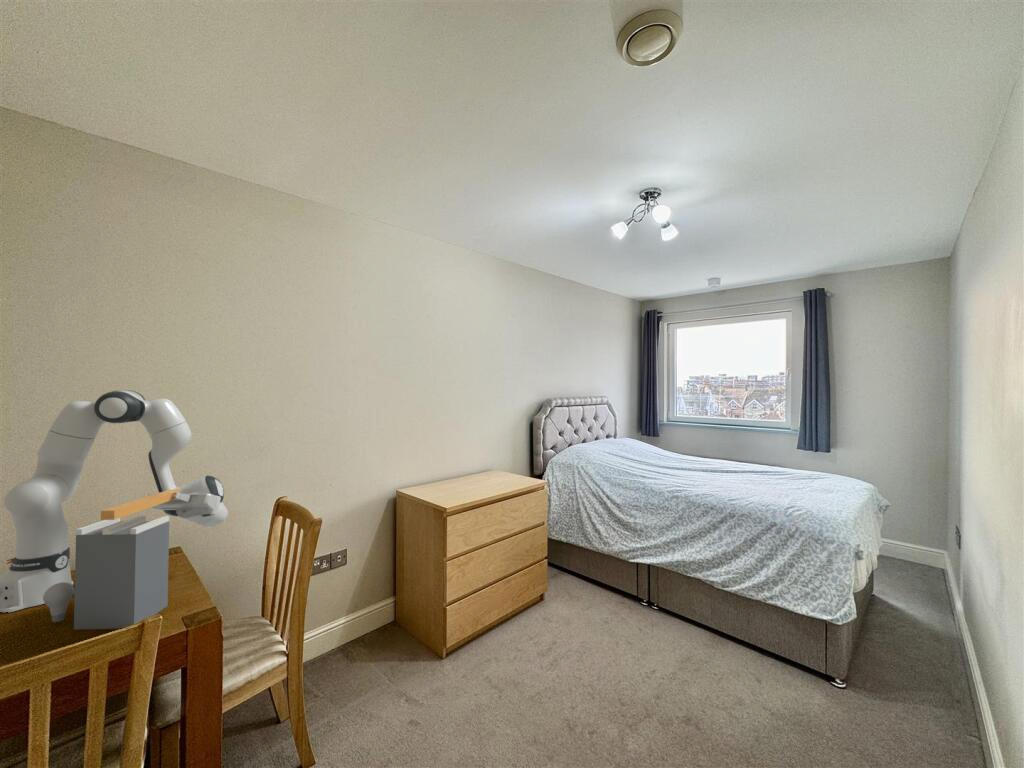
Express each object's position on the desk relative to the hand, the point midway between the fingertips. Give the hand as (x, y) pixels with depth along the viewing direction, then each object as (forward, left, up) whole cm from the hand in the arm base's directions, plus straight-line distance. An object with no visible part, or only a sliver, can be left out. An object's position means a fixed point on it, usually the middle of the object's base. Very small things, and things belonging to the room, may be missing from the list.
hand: (166, 494), depth 133 cm
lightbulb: (-20, -12, -33) cm, 41 cm away
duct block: (-4, -10, -33) cm, 35 cm away
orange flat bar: (0, -8, -2) cm, 8 cm away
